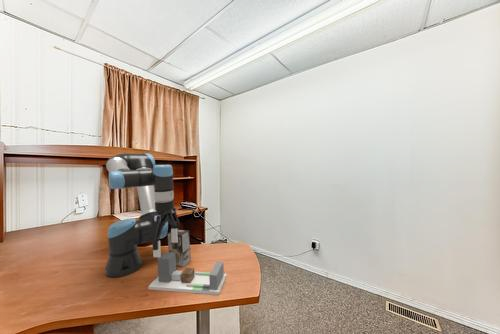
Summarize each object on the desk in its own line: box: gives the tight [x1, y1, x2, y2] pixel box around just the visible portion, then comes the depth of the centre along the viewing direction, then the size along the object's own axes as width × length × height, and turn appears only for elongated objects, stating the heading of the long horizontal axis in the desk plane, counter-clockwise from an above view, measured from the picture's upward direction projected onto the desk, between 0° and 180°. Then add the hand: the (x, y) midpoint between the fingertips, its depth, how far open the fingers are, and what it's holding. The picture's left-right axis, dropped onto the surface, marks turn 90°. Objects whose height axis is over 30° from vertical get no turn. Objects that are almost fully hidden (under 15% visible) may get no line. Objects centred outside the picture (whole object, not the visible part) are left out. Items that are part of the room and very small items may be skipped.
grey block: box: [157, 251, 182, 282], centre depth 86 cm, size 9×6×10 cm, turn 82°
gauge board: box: [148, 261, 227, 296], centre depth 85 cm, size 30×12×7 cm, turn 82°
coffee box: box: [167, 228, 192, 268], centre depth 101 cm, size 9×6×16 cm
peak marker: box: [181, 267, 195, 283], centre depth 85 cm, size 4×4×4 cm
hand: (166, 249), depth 85 cm, fingers open, 13 cm apart
